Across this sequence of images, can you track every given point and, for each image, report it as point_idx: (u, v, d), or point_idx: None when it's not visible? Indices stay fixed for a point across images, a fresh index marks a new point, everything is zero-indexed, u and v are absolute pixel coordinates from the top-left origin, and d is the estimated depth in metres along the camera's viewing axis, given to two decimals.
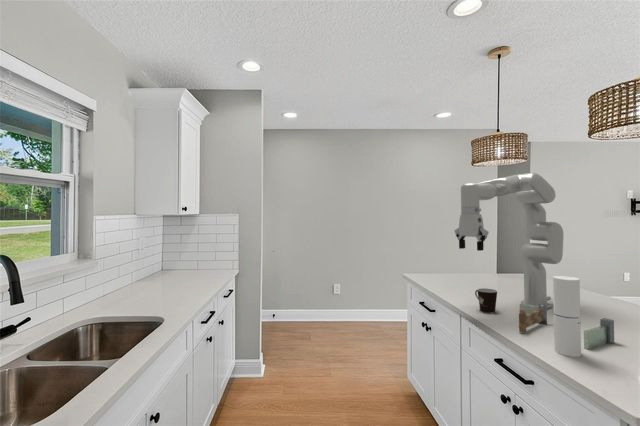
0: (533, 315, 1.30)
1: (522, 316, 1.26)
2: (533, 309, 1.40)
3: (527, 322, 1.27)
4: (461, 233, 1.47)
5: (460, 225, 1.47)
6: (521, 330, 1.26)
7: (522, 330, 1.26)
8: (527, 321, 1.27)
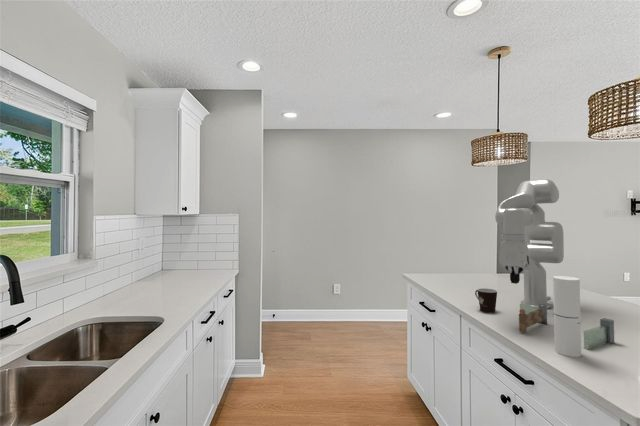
0: (533, 315, 1.30)
1: (522, 316, 1.26)
2: (533, 309, 1.40)
3: (527, 322, 1.27)
4: None
5: None
6: (521, 330, 1.26)
7: (522, 330, 1.26)
8: (527, 321, 1.27)
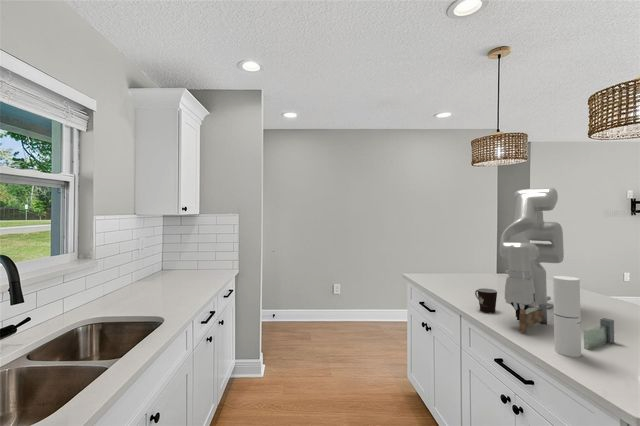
0: (533, 315, 1.30)
1: (522, 316, 1.26)
2: (533, 309, 1.40)
3: (527, 322, 1.27)
4: None
5: None
6: (521, 330, 1.26)
7: (522, 330, 1.26)
8: (527, 321, 1.27)
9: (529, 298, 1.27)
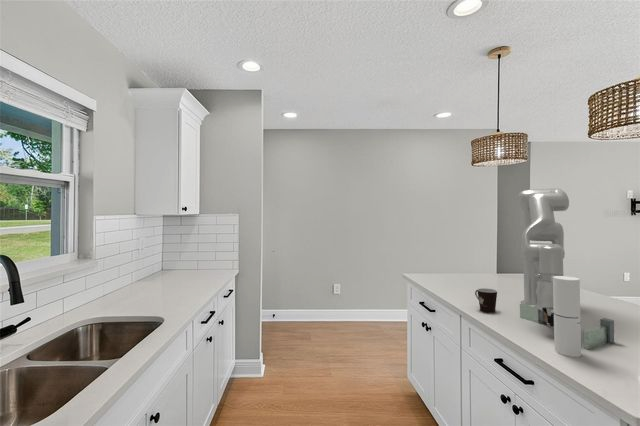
0: None
1: None
2: (533, 309, 1.40)
3: None
4: None
5: None
6: None
7: None
8: None
9: None
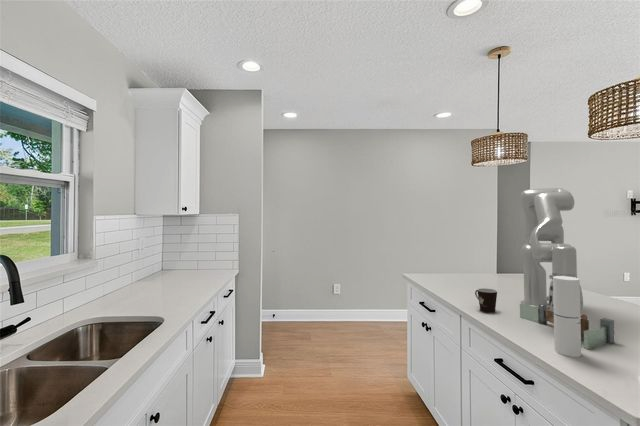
0: None
1: (587, 322, 1.18)
2: (533, 309, 1.40)
3: None
4: None
5: None
6: None
7: None
8: None
9: (581, 302, 1.20)
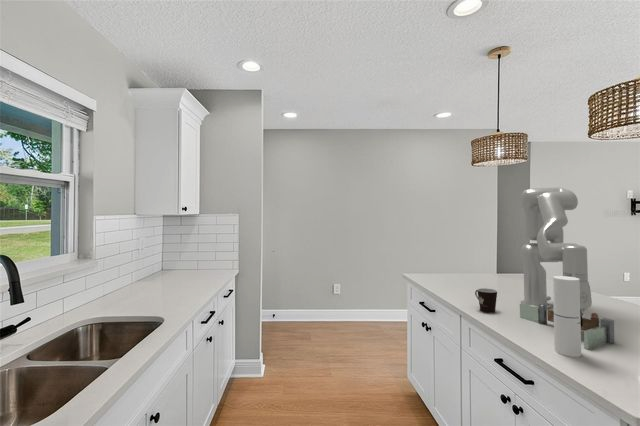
0: None
1: (598, 320, 1.20)
2: (533, 309, 1.40)
3: None
4: None
5: None
6: None
7: None
8: None
9: (590, 300, 1.22)
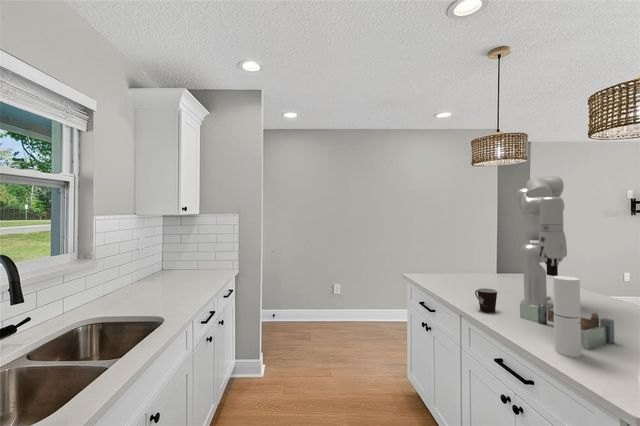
0: None
1: (598, 320, 1.20)
2: (533, 309, 1.40)
3: None
4: None
5: None
6: None
7: None
8: None
9: (566, 250, 1.25)
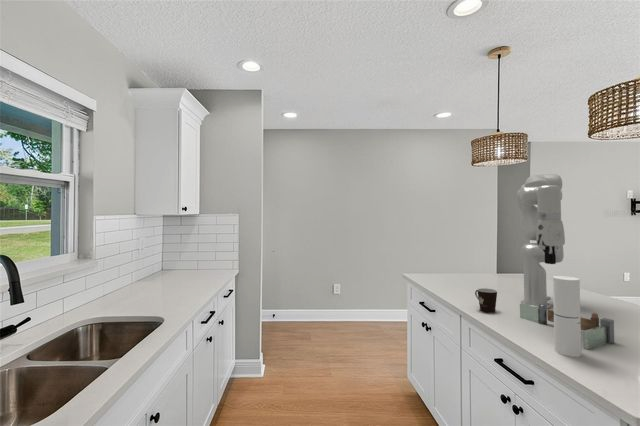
0: None
1: (598, 320, 1.20)
2: (533, 309, 1.40)
3: None
4: None
5: None
6: None
7: None
8: None
9: (564, 238, 1.26)
